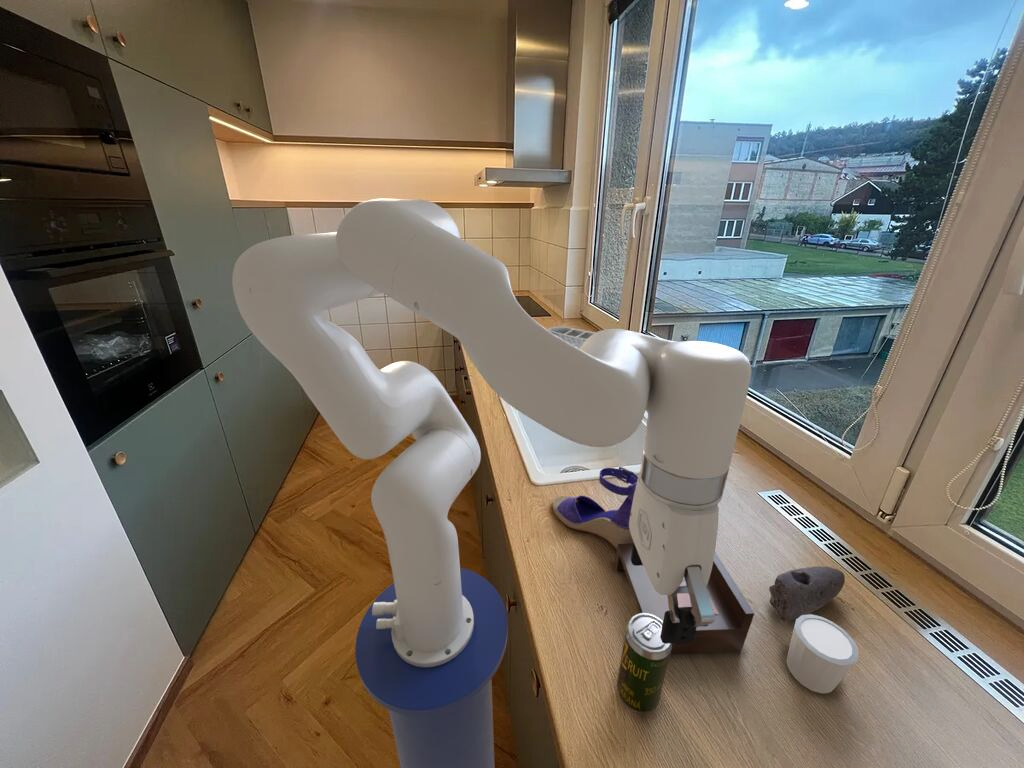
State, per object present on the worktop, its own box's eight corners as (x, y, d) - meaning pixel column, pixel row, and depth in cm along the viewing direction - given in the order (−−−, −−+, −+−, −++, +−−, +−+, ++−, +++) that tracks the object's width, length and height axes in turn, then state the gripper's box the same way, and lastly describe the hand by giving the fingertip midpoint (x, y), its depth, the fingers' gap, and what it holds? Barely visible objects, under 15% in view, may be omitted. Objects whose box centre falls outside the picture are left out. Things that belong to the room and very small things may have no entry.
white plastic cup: (779, 638, 60) (792, 605, 58) (836, 660, 58) (853, 627, 55) (782, 682, 55) (797, 648, 52) (845, 709, 52) (865, 675, 49)
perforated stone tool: (821, 579, 70) (834, 548, 67) (852, 605, 65) (868, 573, 63) (752, 603, 66) (763, 571, 63) (781, 633, 61) (794, 600, 58)
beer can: (632, 662, 57) (643, 603, 52) (667, 695, 53) (682, 634, 49) (607, 689, 54) (617, 628, 49) (642, 726, 50) (656, 664, 46)
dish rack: (504, 362, 166) (504, 343, 162) (556, 340, 191) (557, 324, 188) (570, 382, 147) (572, 361, 144) (618, 355, 172) (620, 337, 169)
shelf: (645, 656, 58) (652, 617, 55) (614, 564, 73) (619, 530, 70) (741, 651, 59) (754, 613, 55) (692, 562, 73) (700, 527, 70)
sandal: (574, 493, 91) (579, 435, 84) (646, 552, 75) (658, 486, 69) (545, 507, 86) (548, 447, 80) (614, 572, 71) (624, 504, 65)
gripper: (618, 427, 47) (606, 541, 54) (681, 541, 31) (652, 682, 38) (682, 425, 47) (662, 539, 54) (778, 537, 31) (732, 678, 38)
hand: (658, 597), depth 46 cm, fingers open, 9 cm apart
